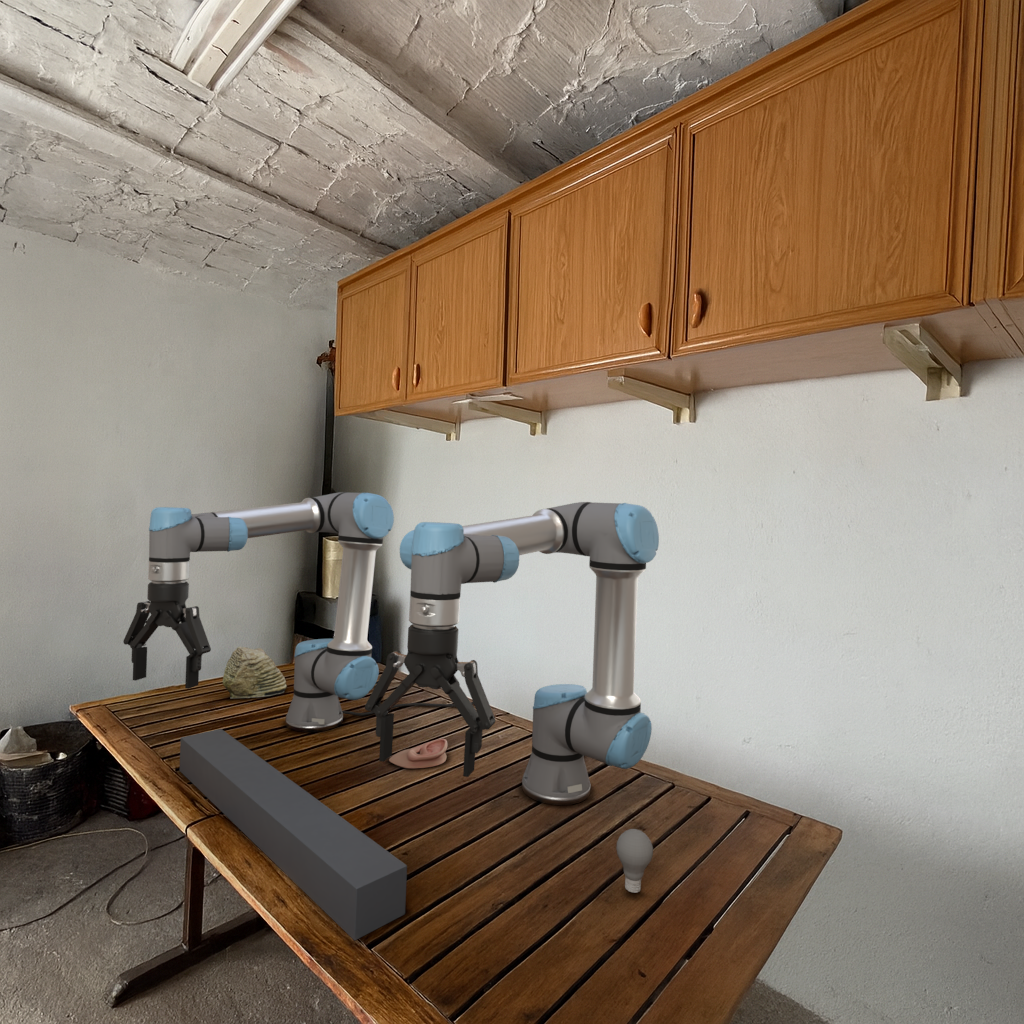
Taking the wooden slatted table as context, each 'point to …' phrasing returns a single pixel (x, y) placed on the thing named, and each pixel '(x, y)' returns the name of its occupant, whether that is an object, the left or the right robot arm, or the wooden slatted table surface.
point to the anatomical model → (422, 755)
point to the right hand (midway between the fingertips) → (426, 765)
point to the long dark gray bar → (299, 833)
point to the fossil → (252, 674)
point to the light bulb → (634, 857)
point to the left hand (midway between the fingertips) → (165, 682)
